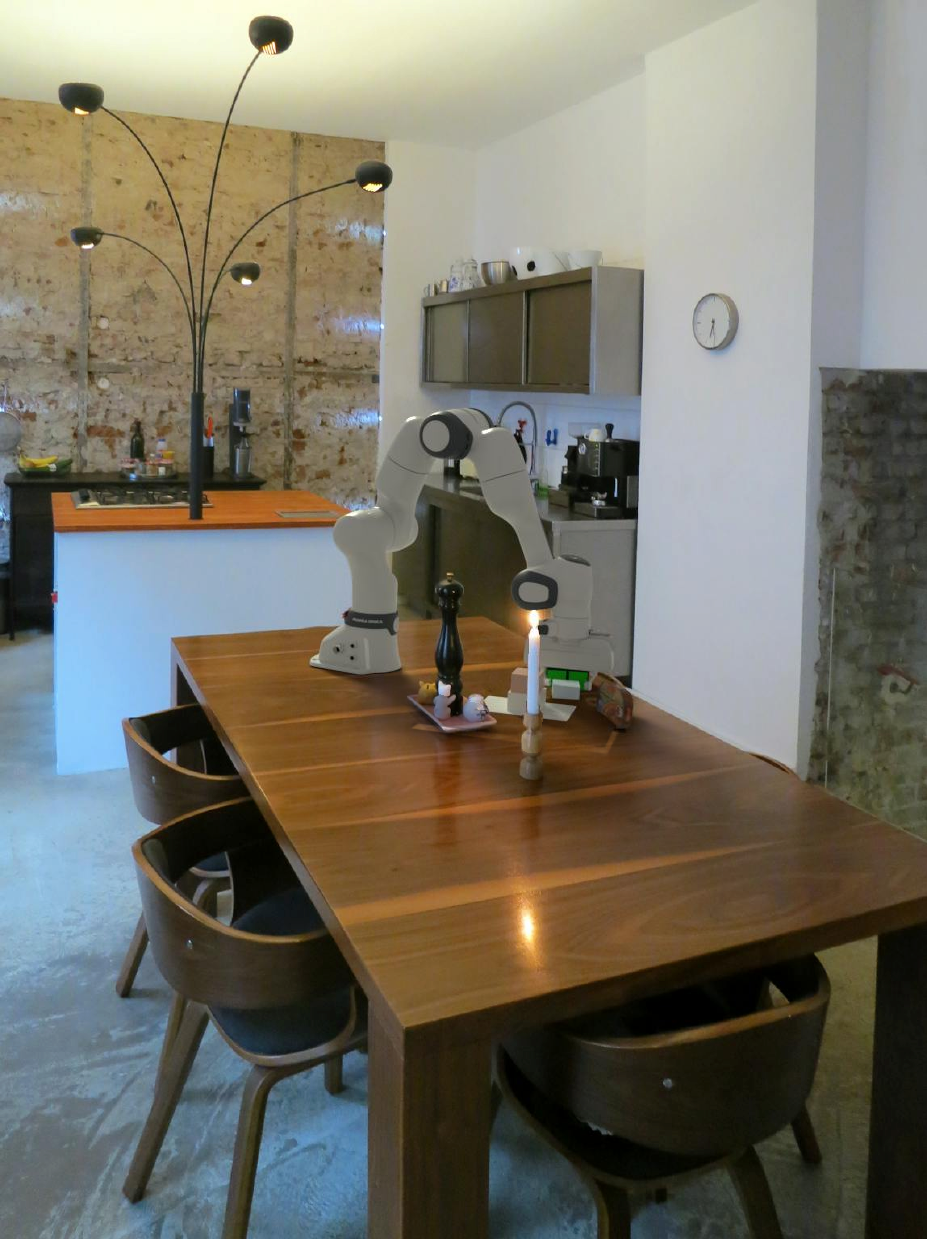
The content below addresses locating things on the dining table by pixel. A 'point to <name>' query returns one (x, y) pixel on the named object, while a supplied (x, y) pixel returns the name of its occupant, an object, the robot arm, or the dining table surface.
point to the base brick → (523, 701)
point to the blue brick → (565, 689)
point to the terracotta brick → (523, 680)
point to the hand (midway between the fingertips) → (567, 687)
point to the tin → (615, 704)
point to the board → (500, 706)
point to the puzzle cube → (568, 675)
